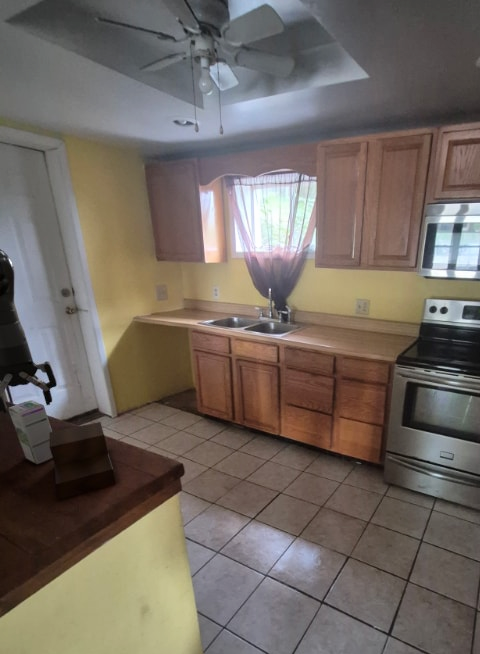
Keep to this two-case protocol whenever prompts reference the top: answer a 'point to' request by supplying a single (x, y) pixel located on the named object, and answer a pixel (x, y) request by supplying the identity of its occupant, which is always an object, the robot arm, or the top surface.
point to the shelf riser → (81, 459)
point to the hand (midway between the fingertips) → (27, 407)
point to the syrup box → (32, 430)
